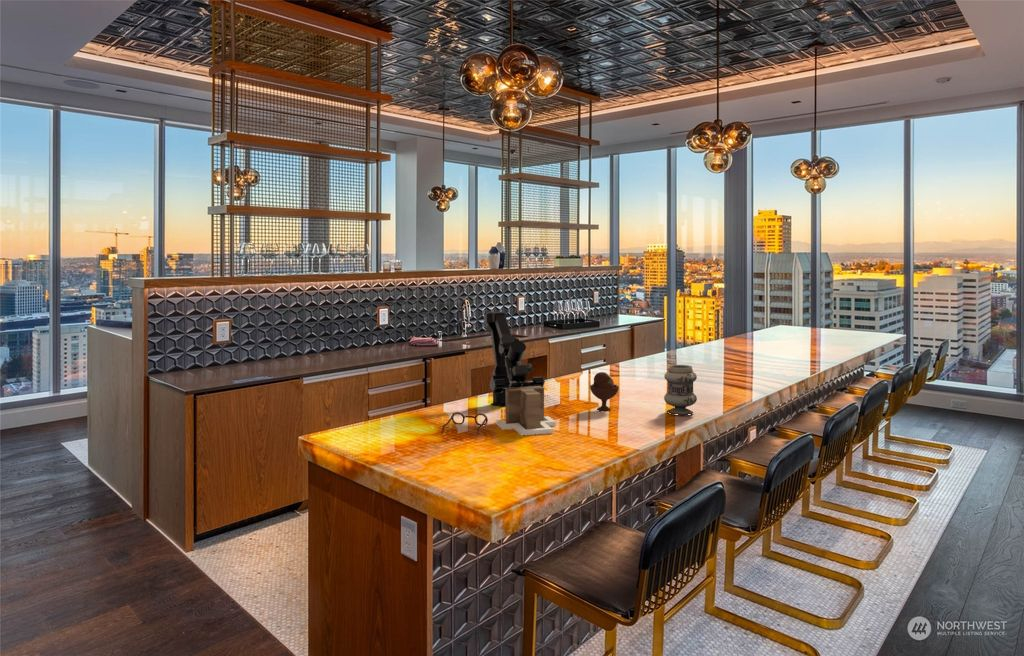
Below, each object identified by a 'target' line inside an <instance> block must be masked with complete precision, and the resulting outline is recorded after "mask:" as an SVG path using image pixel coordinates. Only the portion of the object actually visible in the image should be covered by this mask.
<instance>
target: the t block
mask: <svg viewBox="0 0 1024 656" xmlns="http://www.w3.org/2000/svg"><path fill="white" fill-rule="evenodd" d="M505 394H506V406H505V423H506V424H511V423H519V424H520V425H521V426H522V427H523V428H525V429H537V428H540V421H544V416H545V387H544V386H543V387H541V386H532V387H515V388H505Z"/></svg>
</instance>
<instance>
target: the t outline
mask: <svg viewBox="0 0 1024 656" xmlns="http://www.w3.org/2000/svg"><path fill="white" fill-rule="evenodd" d="M495 423H496V425H497V427H499V428H500V429H501V431H505V430H504V429H508V430H514V431H516V433H518V434H519V435H520V436H523V435H525V436H534V435H535V434H536V435H546V434H548V435H549V434H553V431H554V430H553V428H552V427H555V426H557V421H556V420H554V419H553V418H552V417H550V416H549V415H548V416H545V415H544V421H540V428H537V429H525V428H523V427H522V426H521V425H520V424H519V423H511V424H506V421H504V420H503V419H496V420H495ZM536 435H535V436H536ZM523 437H524V436H523Z"/></svg>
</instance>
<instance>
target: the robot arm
mask: <svg viewBox="0 0 1024 656" xmlns="http://www.w3.org/2000/svg"><path fill="white" fill-rule="evenodd" d="M483 323H484V325H485V327H486V328H485V329H486V330H487V331H488V332H489V334H490V339H491V344H492V350H493V351H492V352H493V359H494V370H493V371H492V373H491V379H490V381H489V389H490V390H491V391H492V402H491V403H490V405H491V406H497V405H499V407H506V394H505V388H515V387H532V386H541V387H543V388H544V386H545V382H546V381H545V378H544V377H543V376H533V377H532V378H531V380H527V379H528V376H527V375H529V374H531V373H533V365H532V363H526V364H523V365H522V362H521V361H522V360H523V359H524V355H525V352H526V349H527V346H526V344H525V342H523V341H521V340H520V339H519V338H516V337H515V336H514V335H513V334H512V332H511V329H510V326H509V323H508V320H507V313H506V312H505V311H487V312H486V314H484V316H483Z"/></svg>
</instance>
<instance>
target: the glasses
mask: <svg viewBox="0 0 1024 656" xmlns="http://www.w3.org/2000/svg"><path fill="white" fill-rule="evenodd" d="M455 415H460V416H461V417H462V422H457V421H455V419H454V416H455ZM478 416H483V417H484V420H483V421H482V423H479V422H478V420H477V417H478ZM465 418H470V419H472V418H473V419H474V422H475V424H476V425H477V426H478V427H477V432H476V436H477V435H478V434H479V433H480V429H481V428H482V427H484V426H483V425H485V426H486V425H487V424H488V422H489V421H488V420H489V419H488V418H489V417H487V415H486V414H484V413H480V412H479V413H477V414H475V416H474V415H464V414H463V413H462V412H459V411H458V412H454V413H453V414H452V415H451V416H450V418H449V419H448V421H447V422H446V423H444V424H443V425H442V428H441V434H442V433H443V434H444V430H445V427H446V426H448V425H449V423H450V422H451V421H452V422H453V424H455V425H456V424H461V425H463V424H464V423H465ZM479 425H480V426H479ZM443 434H442V435H443ZM479 435H480V434H479ZM479 435H478V436H479Z"/></svg>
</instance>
